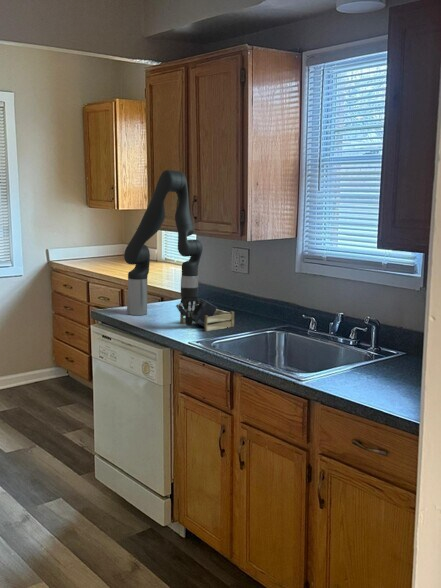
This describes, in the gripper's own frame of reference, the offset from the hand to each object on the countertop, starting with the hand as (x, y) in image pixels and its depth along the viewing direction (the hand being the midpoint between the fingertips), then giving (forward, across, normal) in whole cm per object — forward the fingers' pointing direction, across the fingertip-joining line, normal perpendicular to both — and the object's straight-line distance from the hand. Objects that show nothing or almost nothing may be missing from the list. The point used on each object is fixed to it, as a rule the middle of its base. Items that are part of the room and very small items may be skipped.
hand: (188, 324), depth 280 cm
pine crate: (+2, -10, 0) cm, 10 cm away
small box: (0, -6, -1) cm, 6 cm away
